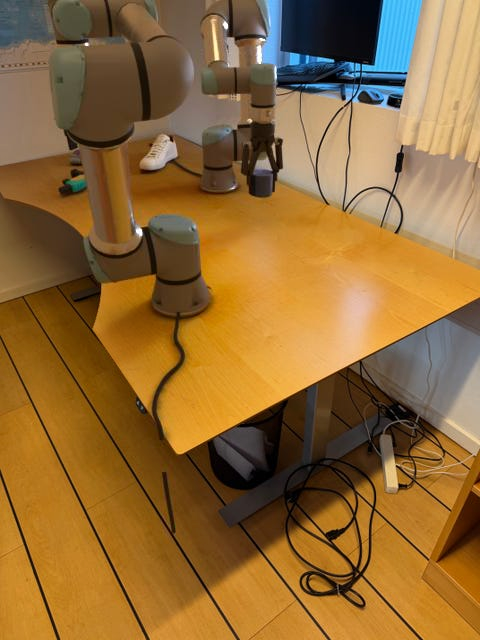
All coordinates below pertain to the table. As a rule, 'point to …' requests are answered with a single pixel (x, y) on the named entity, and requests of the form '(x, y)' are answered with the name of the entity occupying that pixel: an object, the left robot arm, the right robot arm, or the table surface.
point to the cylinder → (263, 183)
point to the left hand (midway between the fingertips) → (93, 152)
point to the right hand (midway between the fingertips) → (261, 192)
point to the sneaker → (160, 153)
